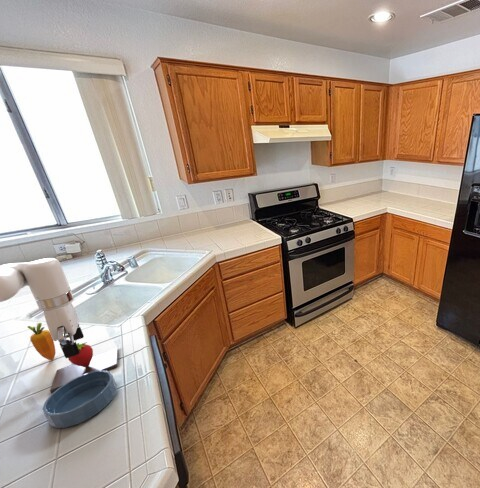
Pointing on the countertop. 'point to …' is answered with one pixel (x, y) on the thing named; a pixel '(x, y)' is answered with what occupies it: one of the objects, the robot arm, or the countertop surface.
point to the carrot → (43, 342)
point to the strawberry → (82, 355)
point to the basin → (80, 399)
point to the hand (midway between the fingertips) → (75, 347)
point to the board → (85, 368)
